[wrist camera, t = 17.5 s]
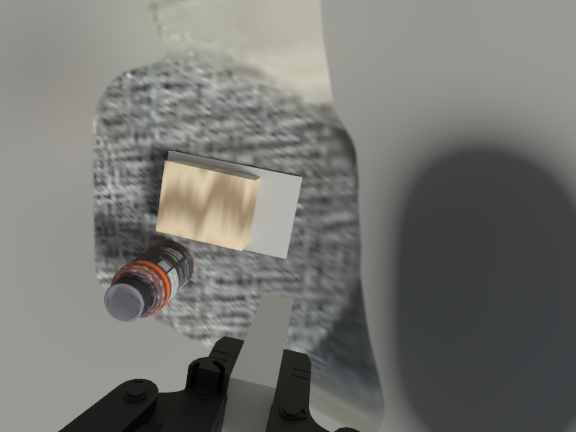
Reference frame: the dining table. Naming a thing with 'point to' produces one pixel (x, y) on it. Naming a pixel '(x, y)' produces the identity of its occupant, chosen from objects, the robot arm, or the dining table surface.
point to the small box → (207, 204)
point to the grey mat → (263, 204)
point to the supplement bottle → (148, 282)
